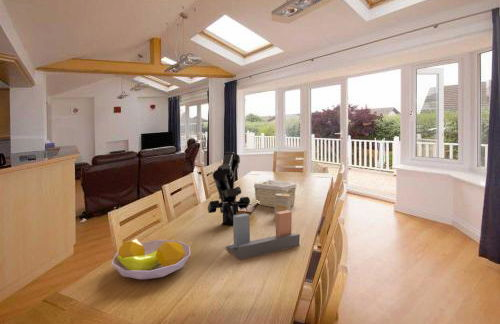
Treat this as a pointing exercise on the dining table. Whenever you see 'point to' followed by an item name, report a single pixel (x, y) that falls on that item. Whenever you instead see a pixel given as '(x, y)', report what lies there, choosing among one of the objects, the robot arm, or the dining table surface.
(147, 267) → the fruit bowl
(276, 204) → the supplement box
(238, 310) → the dining table surface
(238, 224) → the slate key
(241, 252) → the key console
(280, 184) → the storage basket
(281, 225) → the terracotta key
